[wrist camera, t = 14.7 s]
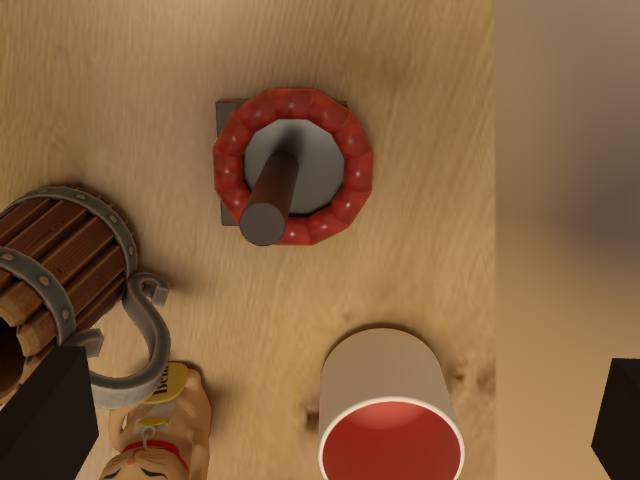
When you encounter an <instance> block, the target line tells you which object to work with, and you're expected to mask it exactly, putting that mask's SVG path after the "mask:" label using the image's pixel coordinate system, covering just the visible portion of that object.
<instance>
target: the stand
mask: <svg viewBox="0 0 640 480" xmlns="http://www.w3.org/2000/svg"><path fill="white" fill-rule="evenodd" d="M247 101H249V99H219V100H218V101H217V102H216V120H217V138H218V137H219V135H220V133H221V131H222V129H223V127H224V125H225V123H226V121H227V120H228V118H229V116H230V114H231V112H232V111H233V110H234V109H236V108H237V107H239V106H241V105H242V104H244V103H246V102H247ZM336 102H338V103H339V104H341V105H343V106H344V107H346V108H347V102H346V101H336ZM242 164H243V182H244V184H245V186H246V187H247V189H248V190H249V192H250V196H249V199H248V201H247V203H246V205H245V207H244V209H243V211H242V213H241V216H240V219H239V227H240V230H241V233H242V235H243V236H244V237H245V238H246V239H247V240H248V241H249V242H251V243H253V244H255V245H258V246H269V245H272V244H274V243H276V242H278V241H279V240H280V239H281V238H282V236H283V234H284V232H285V229H286V224H287V220H288V217H295V218H307V217H309V216H311V215H313V214H315V213H317V212H319V211H320V210H322V209H324V208H326V207H328V206H330V204H331V203H332V201H333V200H334V198H335V196H336V195H337V193H338V192H339V190H340V189H341V187H342V185H343V179H344V157H343V155H342V153H341V151H340V150H339V148H338V146H337V144H336V142H335V141H334V139H333V137H332V135H331V134H330V133H328V132H327V131H325V130H323V129H322V128H320V127H318V126H317V125H315V124H313V123H312V122H310V121H308V120H297V119H278V120H276V121H275V122H273V123H271V124H269V125H268V126H266V127H264V128H262V129H261V130H259V131H257V132H255V134H254V135H253V137H252V139H251V141H250V143H249V144H248V146H247V148H246V150H245V152H244V153H243V155H242ZM221 218H222V225H223V226H238V225H237V224H236V223H235V221H234V220H233V218H232V216H231V215H230V213H229V212H228V210H227V209H226V207H225V206H224V204H223V202H222V201H221Z"/></svg>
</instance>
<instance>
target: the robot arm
mask: <svg viewBox="0 0 640 480" xmlns="http://www.w3.org/2000/svg"><path fill="white" fill-rule="evenodd" d="M98 436H99V431H98V425H97V419H96V412H95V406H94V399H93V393H92V387H91V380H90V374H89V367H88V361H87V355H86V348H85V346H54V347H53V348H52V349H51V350H50V352H49V353H48V354H47V355H46V357H45V358H44V359H43V360H42V361H41V363H40V364H39V365H38V366H37V367H36V369H35V370H34V371H33V372H32V373H31V375H30V376H29V377H28V378H27V379H26V381H25V382H24V383H23V384H22V385H21V387H20V388H19V389H18V390H17V391H16V393H15V394H14V395H13V396H12V398H11V399H10V400H9V401H8V402H7V404H6V405H5V406H4V407H3V408H2V410H1V411H0V480H75V478H76V476H77V474H78V472H79V471H80V469H81V467H82V465H83V463H84V462H85V460H86V458H87V456H88V454H89V452H90V451H91V449H92V447H93V445H94V443H95V441H96V440H97V438H98ZM591 448H592V449H593V451H594V452H595V454H596V456H597V457H598V459H599V461H600V462H601V464H602V466H603V467H604V469H605V470H606V472H607V474H608V475H609V477H610V479H611V480H640V359H625V358H612V362H611V366H610V371H609V374H608V379H607V383H606V387H605V391H604V395H603V399H602V403H601V407H600V411H599V416H598V420H597V424H596V428H595V432H594V436H593V440H592V445H591Z"/></svg>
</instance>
